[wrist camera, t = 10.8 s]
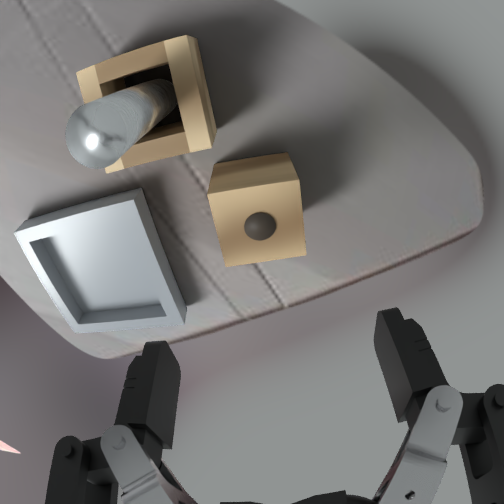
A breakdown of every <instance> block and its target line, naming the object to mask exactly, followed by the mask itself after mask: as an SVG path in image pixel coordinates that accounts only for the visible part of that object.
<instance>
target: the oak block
mask: <svg viewBox="0 0 504 504" xmlns="http://www.w3.org/2000/svg"><path fill="white" fill-rule="evenodd" d="M167 64H169V67H170V72H171V76H172V80H173V84H174V89H175V93H176V97H177V101H178V105H179V109H180V114H181V118H182V121H179V122H175V123H171V124H167V125H163V126H160V127H156V128H152V129H150V130H149V131H148V132H147V133H146V134H145V135H144V136H143V137H142V138H140V139H139V140H138V141H137V142H136V143H135V144H134V145H133V146H132V147H131V148H130V149H129V150H128V151H127V152H125V153H124V154H123V155H122V156H121V157H120V158H119V159H118V160H117V161H116V162H115V163H114V164H112V165H110V166H108V167H106V168H105V170H106V173H111V172H114V171H118V170H121V169H125V168H129V167H132V166H136V165H140V164H144V163H148V162H151V161H155V160H160V159H164V158H168V157H172V156H176V155H181V154H185V153H190V152H194V151H199V150H204V149H209V148H212V145H213V142H214V139H215V136H216V133H217V129H216V124H215V120H214V115H213V111H212V106H211V101H210V97H209V92H208V88H207V83H206V78H205V74H204V69H203V64H202V60H201V55H200V50H199V46H198V41H197V39H196V38H194V37H191V36H188V35H184V36H180V37H176V38H172V39H169V40H165V41H162V42H158V43H155V44H152V45H148V46H145V47H142V48H139V49H136V50H133V51H130V52H127V53H124V54H121V55H119V56H116V57H113V58H111V59H108V60H105V61H103V62H100V63H98V64H95V65H93V66H91V67H88V68H86V69H83V70H81V71H79V72H77V73H76V74H77V78H78V82H79V86H80V89H81V93H82V97H83V100H84V104H86V103H89V102H91V101H94V100H96V99H99V98H102V97H104V96H107V95H109V94H112V93H115V92H118V91H121V90H123V89H126V85H125V81H124V78H125V77H127V76H130V75H133V74H137V73H140V72H143V71H146V70H149V69H153V68H156V67H160V66H163V65H167Z"/></svg>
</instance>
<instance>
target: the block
mask: <svg viewBox="0 0 504 504" xmlns="http://www.w3.org/2000/svg"><path fill="white" fill-rule="evenodd" d="M207 195H208V199H209V203H210V207H211V211H212V215H213V219H214V223H215V227H216V231H217V235H218V239H219V243H220V246H221V250H222V254H223V258H224V262H225V266H226V267H230V266H237V265H244V264H250V263H257V262H264V261H271V260H277V259H284V258H291V257H297V256H304V255H306V246H305V234H304V222H303V212H302V201H301V191H300V182H299V178H298V176H297V173H296V171H295V169H294V166H293V164H292V162H291V159H290V157H289V155H288V152H286V153H279V154H272V155H265V156H258V157H252V158H246V159H240V160H234V161H228V162H223V163H217V164H214V167H213V172H212V176H211V180H210V184H209V189H208V193H207Z"/></svg>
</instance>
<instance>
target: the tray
mask: <svg viewBox="0 0 504 504" xmlns="http://www.w3.org/2000/svg"><path fill="white" fill-rule="evenodd" d="M14 234H15V236H16V238H17V240H18V242H19V243H20V245H21V247H22V249H23V251H24V253H25V255H26V257H27V258H28V260H29V262H30V264H31V265H32V267H33V269H34V271H35V272H36V274H37V276H38V278H39V279H40V281H41V283H42V284H43V286H44V287H45V289H46V291H47V292H48V294H49V295H50V297H51V299H52V300H53V302H54V303H55V305H56V306H57V308H58V309H59V311H60V312H61V314H62V315H63V317H64V318H65V320H66V321H67V323H68V324H69V326H70V327H71V328H72V330H73V331H74V333H89V332H104V331H118V330H130V329H142V328H153V327H163V326H173V325H183V324H185V318H186V312H187V307H186V304H185V302H184V300H183V297H182V295H181V292H180V290H179V287H178V285H177V282H176V280H175V277H174V275H173V272H172V270H171V267H170V265H169V262H168V260H167V257H166V254H165V252H164V249H163V247H162V244H161V241H160V239H159V236H158V233H157V230H156V228H155V225H154V222H153V219H152V217H151V214H150V211H149V208H148V205H147V202H146V199H145V196H144V194H143V191H142V188H138V189H134V190H130V191H126V192H122V193H118V194H114V195H110V196H106V197H103V198H99V199H95V200H92V201H88V202H84V203H81V204H77V205H74V206H71V207H67V208H64V209H60V210H57V211H54V212H51V213H47V214H44V215H41V216H38V217H35V218H32V219H29V220H26V221H24V222H23V224H22V225H21V226H20V227H19V228H18V229H17V230H16V231H15V232H14Z"/></svg>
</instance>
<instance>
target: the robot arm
mask: <svg viewBox="0 0 504 504" xmlns="http://www.w3.org/2000/svg"><path fill="white" fill-rule="evenodd" d="M374 346H375V351H376V354H377V357H378V360H379V363H380V366H381V369H382V372H383V375H384V378H385V381H386V385H387V388H388V391H389V394H390V397H391V400H392V403H393V407H394V410H395V414H396V417H397V421H398V423H399V422H403V421H407V423H408V427H409V429H408V431H407V433H406V436H405V438H404V440H403V442H402V444H401V447H400V449H399V451H398V453H397V455H396V457H395V459H394V461H393V463H392V465H391V467H390V469H389V471H388V473H387V475H386V476H385V478H384V479H383V481H382V483H381V485H380V486H379V488H378V490H377V492H376V494H375V495H374V497H373V499H372V500H370V499H367V498H365V497H361V496H356V495H346V491H345V490H344V491H338V492H333V493H327V494H321V495H315V496H312V497H310V498H307V499H304V500H301V501H298V502H296V503H292V504H431V503H432V501H433V498H434V496H435V494H436V492H437V489H438V487H439V485H440V483H441V480H442V478H443V475H444V473H445V470H446V467H447V461H446V457H447V454H448V451H449V448H450V445H457V444H459V446H460V450H461V454H462V458H463V462H464V466H465V470H466V475H467V480H468V485H469V489H470V494H471V499H472V504H504V385H502V384H496V385H493V386H491V387H489V388H488V389H487V391H486V392H485V393H461V392H458V391H457V390H456V389H455V388H453V387H451V386H450V385H449V384H448V383H447V381H446V379H445V376H444V374H443V372H442V370H441V367H440V365H439V363H438V361H437V358H436V356H435V354H434V352H433V350H432V349H431V345H430V343H429V341H428V340H427V337H426V335H425V333H424V331H423V329H422V327H421V326H420V325H419V324H418V323H417V322H415V321H414V320H413V319H407V320H404V318H403V316H402V314H401V312H400V310H399V309H398V308H397V307H396V308H392V309H387V310H382V311H378V313H377V320H376V327H375V333H374ZM180 379H181V371H180V366H179V363H178V361H177V360H176V358H175V356H174V354H173V352H172V351H171V349H170V347H169V345H168V343H167V342H166V341H152V342H146V343H145V345H144V349H143V353H142V356H136V357H135V358H134V360H133V361H132V363H131V364H130V365H129V367H128V371H127V376H126V380H125V383H124V389H123V391H122V395H121V399H120V404H119V407H118V412H117V416H116V420H115V424H114V426H112V427H110V428H108V429H107V430H106V431H105V432H104V433H103V435H102V437H99V438H95V439H91V440H86V441H80V440H79V439H77V438H76V437H74V436H66V437H63V438H62V439H61V440H59V442H58V443H57V444H56V447H55V450H54V455H53V460H52V465H51V470H50V476H49V481H48V488H47V494H46V500H45V504H117V497H118V496H117V495H118V484H119V485H120V487H121V488H122V491H123V494H122V495H121V499H122V502H123V503H124V504H198V503H197V502H196V501H195V500H194V499H193V498H192V497H191V496H190V495H189V494H188V493H187V492H186V491H185V489H184V488H183V487H182V485H181V484H180V483H179V481H178V480H177V479H176V477H175V476H174V474H173V473H172V471H171V470H170V468H169V467H168V465H167V464H166V463H165V461H164V460H163V458H162V449H172V443H173V435H174V426H175V417H176V409H177V401H178V394H179V386H180ZM220 504H261V503H254V502H220Z"/></svg>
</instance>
